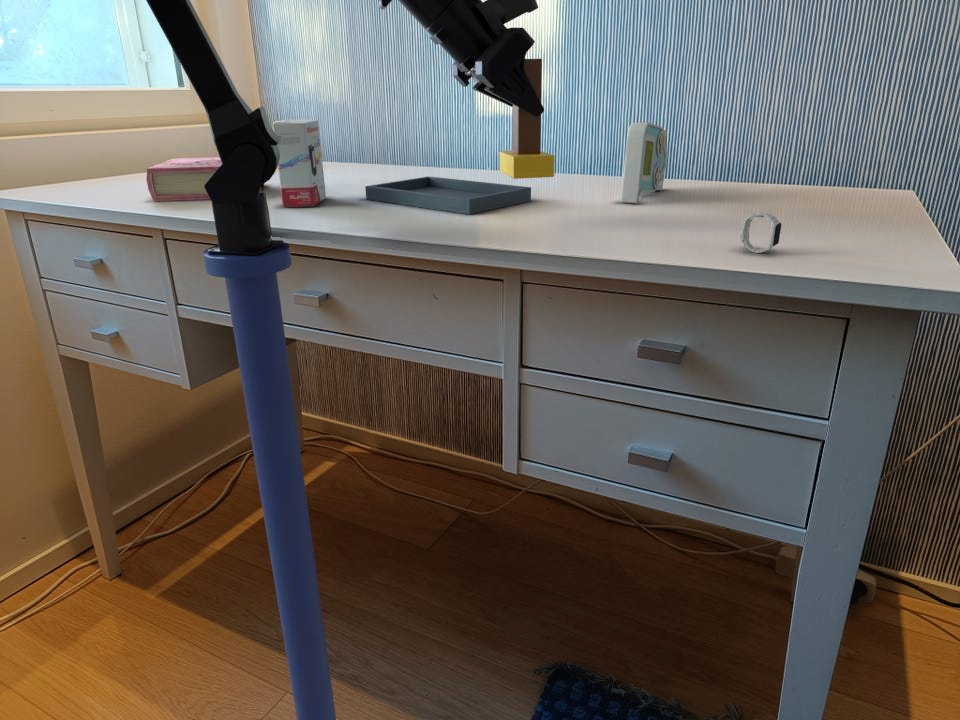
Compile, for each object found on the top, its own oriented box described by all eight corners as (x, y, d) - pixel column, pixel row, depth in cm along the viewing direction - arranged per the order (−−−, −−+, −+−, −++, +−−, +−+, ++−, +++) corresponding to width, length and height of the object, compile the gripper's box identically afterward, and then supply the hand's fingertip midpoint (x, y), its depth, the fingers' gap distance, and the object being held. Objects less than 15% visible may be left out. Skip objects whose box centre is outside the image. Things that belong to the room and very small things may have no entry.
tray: (531, 200, 102) (531, 187, 101) (469, 214, 92) (469, 199, 92) (428, 188, 115) (428, 176, 114) (366, 199, 106) (365, 186, 105)
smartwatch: (735, 251, 71) (741, 212, 69) (742, 247, 72) (748, 209, 71) (771, 256, 69) (778, 216, 67) (778, 252, 70) (784, 212, 69)
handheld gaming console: (664, 202, 110) (638, 204, 97) (646, 201, 111) (619, 202, 99) (672, 129, 107) (647, 121, 94) (654, 129, 108) (627, 120, 96)
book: (175, 188, 121) (169, 158, 119) (263, 185, 122) (259, 156, 120) (147, 201, 107) (141, 168, 106) (247, 198, 109) (242, 165, 107)
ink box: (314, 207, 100) (305, 121, 95) (280, 207, 100) (270, 122, 95) (327, 197, 108) (319, 118, 103) (296, 198, 108) (287, 118, 103)
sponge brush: (513, 178, 81) (513, 58, 76) (499, 171, 87) (499, 60, 82) (554, 177, 82) (557, 57, 77) (537, 170, 88) (539, 59, 83)
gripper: (515, -66, 66) (615, 58, 72) (475, -36, 83) (560, 62, 89) (437, 25, 68) (542, 138, 74) (414, 36, 85) (501, 128, 91)
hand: (537, 113), depth 82 cm, fingers closed on sponge brush, 3 cm apart
